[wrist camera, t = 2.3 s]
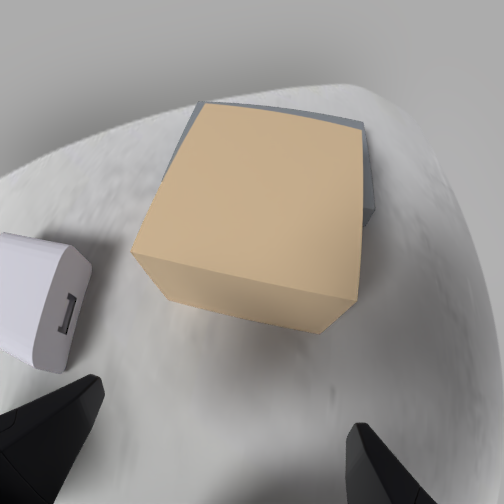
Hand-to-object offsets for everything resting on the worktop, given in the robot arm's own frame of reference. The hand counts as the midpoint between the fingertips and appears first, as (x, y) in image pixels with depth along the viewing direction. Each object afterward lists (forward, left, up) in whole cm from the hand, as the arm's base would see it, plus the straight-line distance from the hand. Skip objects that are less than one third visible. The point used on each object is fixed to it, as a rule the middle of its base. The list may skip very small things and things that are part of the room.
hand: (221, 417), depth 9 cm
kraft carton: (+8, -9, -10) cm, 16 cm away
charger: (+18, +11, -10) cm, 23 cm away
